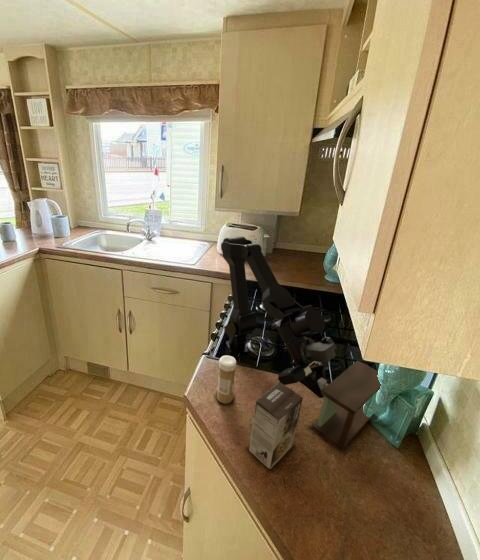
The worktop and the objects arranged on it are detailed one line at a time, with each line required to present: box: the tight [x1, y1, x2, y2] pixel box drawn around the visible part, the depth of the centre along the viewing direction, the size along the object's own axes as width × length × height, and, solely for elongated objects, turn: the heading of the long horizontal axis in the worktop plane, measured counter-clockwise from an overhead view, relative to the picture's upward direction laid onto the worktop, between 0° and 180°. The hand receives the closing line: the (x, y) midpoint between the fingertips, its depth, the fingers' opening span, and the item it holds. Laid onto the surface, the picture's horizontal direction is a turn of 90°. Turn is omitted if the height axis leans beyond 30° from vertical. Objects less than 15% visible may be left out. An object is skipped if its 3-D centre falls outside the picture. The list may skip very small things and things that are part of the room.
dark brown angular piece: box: [311, 360, 381, 451], centre depth 80 cm, size 8×18×13 cm, turn 129°
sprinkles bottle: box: [216, 355, 237, 404], centre depth 86 cm, size 5×5×13 cm
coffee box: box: [248, 381, 304, 470], centre depth 71 cm, size 9×6×16 cm
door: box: [313, 378, 339, 427], centre depth 81 cm, size 5×8×10 cm, turn 129°
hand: (324, 395), depth 80 cm, fingers closed
